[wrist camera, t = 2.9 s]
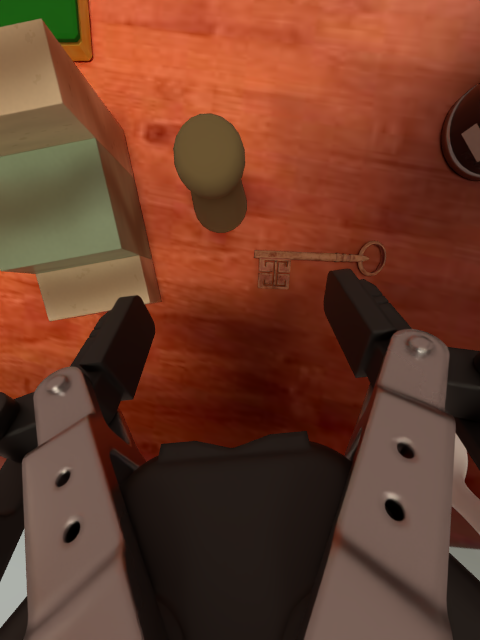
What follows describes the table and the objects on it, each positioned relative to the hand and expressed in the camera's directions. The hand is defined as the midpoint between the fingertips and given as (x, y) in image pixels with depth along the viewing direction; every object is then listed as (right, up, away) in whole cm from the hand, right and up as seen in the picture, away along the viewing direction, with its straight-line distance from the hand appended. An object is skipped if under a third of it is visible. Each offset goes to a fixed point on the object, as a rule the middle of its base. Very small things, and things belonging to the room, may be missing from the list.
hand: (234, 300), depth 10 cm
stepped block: (-16, +10, +16) cm, 25 cm away
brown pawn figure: (-2, +12, +16) cm, 20 cm away
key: (+9, +6, +17) cm, 20 cm away
